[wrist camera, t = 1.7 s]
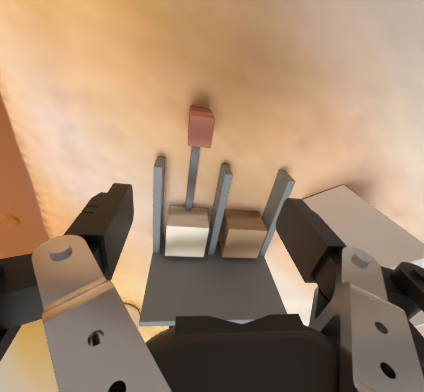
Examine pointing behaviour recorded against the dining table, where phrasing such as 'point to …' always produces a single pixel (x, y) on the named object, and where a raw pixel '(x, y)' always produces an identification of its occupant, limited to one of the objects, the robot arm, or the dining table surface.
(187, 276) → the lane rack
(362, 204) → the milk carton
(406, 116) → the dining table surface
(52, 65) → the dining table surface
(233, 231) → the walnut block
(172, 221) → the corded block
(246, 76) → the dining table surface
